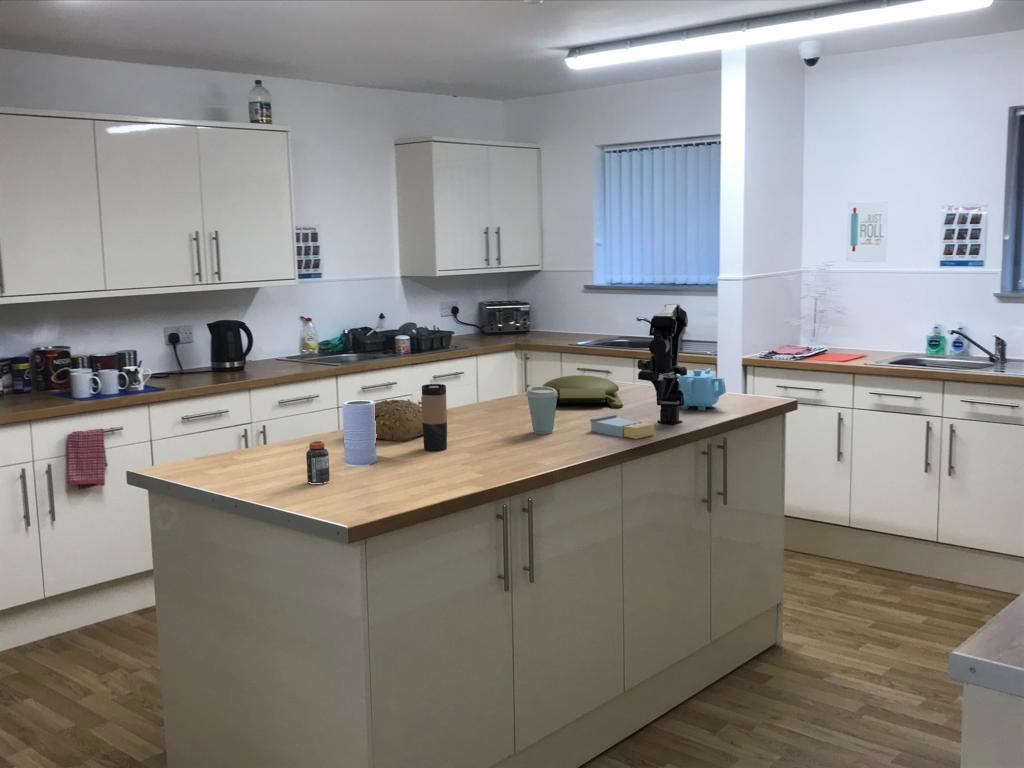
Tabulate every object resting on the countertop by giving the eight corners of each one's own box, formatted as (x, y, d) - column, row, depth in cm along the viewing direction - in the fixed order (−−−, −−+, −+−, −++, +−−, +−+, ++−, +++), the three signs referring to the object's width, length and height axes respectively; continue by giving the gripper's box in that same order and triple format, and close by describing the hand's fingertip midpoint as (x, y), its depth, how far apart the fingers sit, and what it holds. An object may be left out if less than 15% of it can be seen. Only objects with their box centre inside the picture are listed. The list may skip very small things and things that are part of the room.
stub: (642, 432, 331) (642, 421, 331) (654, 434, 328) (654, 423, 327) (624, 436, 325) (624, 425, 325) (635, 438, 322) (635, 427, 321)
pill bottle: (308, 480, 275) (307, 440, 274) (330, 479, 276) (329, 439, 274) (306, 485, 269) (304, 444, 268) (328, 485, 270) (326, 444, 268)
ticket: (612, 426, 343) (612, 414, 342) (643, 432, 332) (643, 419, 332) (589, 431, 336) (589, 418, 335) (620, 437, 325) (620, 424, 324)
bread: (440, 432, 339) (439, 397, 337) (408, 444, 320) (407, 407, 318) (379, 426, 349) (378, 393, 347) (344, 438, 330) (343, 403, 328)
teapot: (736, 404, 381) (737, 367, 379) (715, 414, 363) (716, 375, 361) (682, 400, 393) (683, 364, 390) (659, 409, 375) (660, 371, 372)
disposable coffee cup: (564, 431, 335) (564, 387, 333) (543, 437, 327) (543, 391, 325) (541, 427, 342) (540, 384, 340) (519, 432, 335) (519, 388, 332)
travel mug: (451, 447, 314) (450, 384, 311) (441, 452, 307) (440, 388, 304) (429, 445, 317) (427, 383, 314) (419, 450, 310) (417, 387, 307)
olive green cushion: (623, 409, 377) (623, 384, 375) (541, 410, 377) (541, 384, 375) (615, 394, 411) (615, 370, 410) (540, 395, 412) (540, 371, 410)
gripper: (662, 347, 342) (662, 392, 344) (625, 352, 330) (625, 399, 332) (688, 350, 334) (687, 396, 336) (651, 355, 321) (650, 403, 324)
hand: (662, 398), depth 332 cm, fingers closed
